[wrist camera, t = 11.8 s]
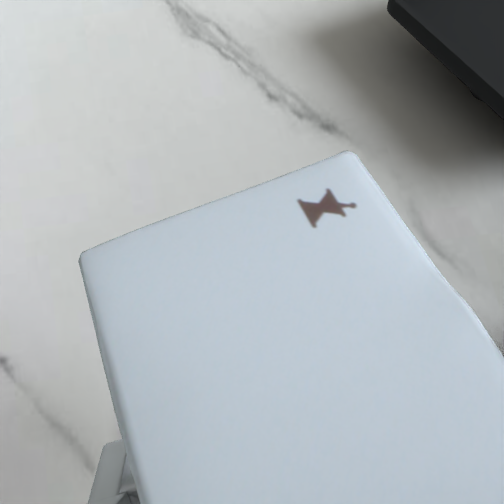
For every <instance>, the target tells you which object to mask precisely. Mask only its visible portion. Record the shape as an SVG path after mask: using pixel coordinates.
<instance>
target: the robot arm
mask: <svg viewBox="0 0 504 504" xmlns="http://www.w3.org/2000/svg"><path fill="white" fill-rule="evenodd" d="M88 504H140V500H139V496H138V493H137V489H136V486H135V482H134V478H133V475H132V471H131V468H130V464H129V460H128V457H127V453H126V450H125V446H124V443H123V439H120V440H117V441H113V442H110V443H107V444H106V445H105V446H104V447H103V449H102V452H101V456H100V460H99V463H98V467H97V471H96V475H95V478H94V482H93V486H92V489H91V493H90V497H89V500H88Z"/></svg>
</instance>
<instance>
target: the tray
mask: <svg viewBox="0 0 504 504" xmlns="http://www.w3.org/2000/svg"><path fill="white" fill-rule="evenodd" d="M387 10H388V12H389V14H390V15H391V16H392V17H393V18H394V19H395V20H396V21H398V22H399V23H400V24H401V25H402V26H403V27H404V28H405V29H406V30H407V31H408V32H409V33H410V34H412V35H413V36H414V37H415V38H416V39H417V40H418V41H419V42H420V43H421V44H422V45H423V46H424V47H426V48H427V49H428V50H429V51H430V52H431V53H432V54H433V55H434V56H435V57H436V58H437V59H439V60H440V61H441V62H442V63H443V64H444V65H445V66H446V67H447V68H448V69H449V70H450V71H451V72H453V73H454V74H455V75H456V76H457V77H458V78H459V79H460V80H461V81H462V82H463V83H464V84H465V85H467V86H468V87H469V88H470V89H471V93H472V94H473V96H475V97H476V98H477V99H479V100H481V101H484V102H485V103H486V104H487V105H488V106H489V107H490V108H491V109H492V110H493V111H495V112H496V113H497V114H498V115H499V116H500V117H501V118H502V119H503V120H504V0H389V2H388V6H387Z"/></svg>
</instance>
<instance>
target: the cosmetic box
mask: <svg viewBox="0 0 504 504" xmlns="http://www.w3.org/2000/svg"><path fill="white" fill-rule="evenodd" d="M78 262H79V266H80V269H81V273H82V277H83V282H84V286H85V290H86V294H87V298H88V303H89V307H90V311H91V315H92V319H93V323H94V327H95V331H96V336H97V340H98V345H99V349H100V354H101V358H102V362H103V366H104V370H105V374H106V378H107V382H108V386H109V390H110V394H111V398H112V402H113V406H114V410H115V414H116V418H117V421H118V425H119V428H120V432H121V435H122V439H123V443H124V446H125V450H126V453H127V457H128V460H129V464H130V468H131V471H132V475H133V478H134V482H135V486H136V489H137V493H138V496H139V500H140V504H504V357H503V355H502V354H501V352H500V351H499V349H498V348H497V346H496V344H495V343H494V341H493V340H492V338H491V337H490V335H489V334H488V332H487V331H486V329H485V328H484V326H483V325H482V323H481V322H480V320H479V319H478V317H477V316H476V315H475V313H474V312H473V310H472V309H471V308H470V306H469V305H468V303H467V302H466V301H465V300H464V299H463V298H462V296H461V295H460V294H459V293H458V292H457V291H456V290H455V289H454V288H453V287H452V286H451V285H450V284H449V283H448V282H447V280H446V279H445V278H444V277H443V276H442V274H441V273H440V272H439V271H438V269H437V268H436V267H435V265H434V264H433V262H432V261H431V259H430V258H429V257H428V255H427V254H426V252H425V251H424V249H423V248H422V246H421V245H420V244H419V242H418V241H417V239H416V238H415V237H414V235H413V234H412V233H411V231H410V230H409V229H408V228H407V226H406V225H405V224H404V222H403V221H402V219H401V218H400V216H399V215H398V213H397V212H396V210H395V209H394V207H393V206H392V205H391V203H390V202H389V200H388V199H387V197H386V196H385V194H384V193H383V192H382V190H381V189H380V187H379V186H378V185H377V183H376V182H375V180H374V179H373V177H372V176H371V175H370V173H369V172H368V170H367V169H366V168H365V166H364V165H363V163H362V162H361V160H360V159H359V158H358V156H357V155H356V154H354V153H353V152H350V151H343V152H341V153H339V154H337V155H334V156H332V157H329V158H327V159H324V160H322V161H319V162H317V163H314V164H312V165H309V166H306V167H304V168H301V169H299V170H296V171H293V172H291V173H288V174H285V175H283V176H280V177H278V178H275V179H272V180H270V181H267V182H264V183H262V184H259V185H256V186H254V187H251V188H248V189H246V190H243V191H240V192H237V193H235V194H232V195H229V196H226V197H223V198H221V199H218V200H215V201H212V202H209V203H207V204H204V205H201V206H199V207H196V208H194V209H191V210H188V211H185V212H183V213H180V214H177V215H174V216H172V217H169V218H166V219H163V220H161V221H158V222H155V223H153V224H150V225H147V226H145V227H142V228H140V229H137V230H134V231H132V232H129V233H127V234H124V235H122V236H119V237H117V238H114V239H112V240H109V241H107V242H105V243H102V244H100V245H97V246H95V247H93V248H91V249H88V250H86V251H84V252H82V253H81V255H80V258H79V261H78Z"/></svg>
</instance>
